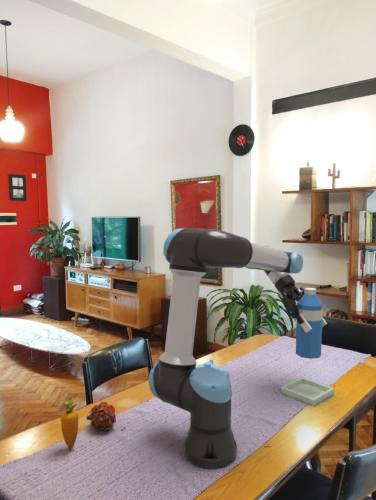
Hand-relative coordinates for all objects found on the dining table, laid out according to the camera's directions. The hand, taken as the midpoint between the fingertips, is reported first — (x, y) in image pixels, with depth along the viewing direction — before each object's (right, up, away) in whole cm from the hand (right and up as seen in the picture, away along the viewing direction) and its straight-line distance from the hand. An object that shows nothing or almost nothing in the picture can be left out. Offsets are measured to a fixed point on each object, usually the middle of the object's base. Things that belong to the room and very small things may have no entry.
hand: (316, 328), depth 145 cm
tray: (-2, -26, +5) cm, 27 cm away
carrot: (-82, -30, -29) cm, 92 cm away
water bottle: (-2, -11, +3) cm, 11 cm away
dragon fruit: (-75, -29, -17) cm, 82 cm away
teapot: (-40, -26, +8) cm, 48 cm away
